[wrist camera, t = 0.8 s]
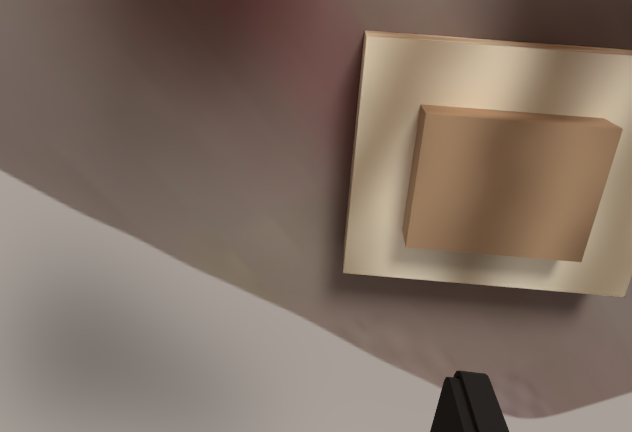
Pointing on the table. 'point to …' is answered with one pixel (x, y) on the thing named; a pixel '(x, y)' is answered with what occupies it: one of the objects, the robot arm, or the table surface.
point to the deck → (494, 94)
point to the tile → (507, 182)
